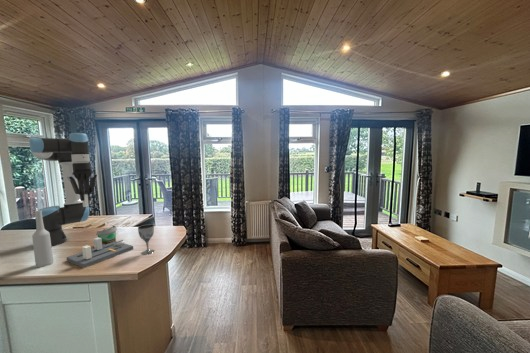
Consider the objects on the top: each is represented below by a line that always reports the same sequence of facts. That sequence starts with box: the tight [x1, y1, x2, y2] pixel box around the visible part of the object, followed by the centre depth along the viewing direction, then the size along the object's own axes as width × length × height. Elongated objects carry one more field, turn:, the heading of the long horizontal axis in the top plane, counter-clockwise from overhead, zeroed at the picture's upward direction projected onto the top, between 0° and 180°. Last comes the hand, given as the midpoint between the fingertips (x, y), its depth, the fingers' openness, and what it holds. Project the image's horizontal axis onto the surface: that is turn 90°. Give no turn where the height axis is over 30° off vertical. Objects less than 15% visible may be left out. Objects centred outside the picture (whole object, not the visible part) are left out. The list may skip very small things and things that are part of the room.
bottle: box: [31, 210, 54, 268], centre depth 118 cm, size 7×7×28 cm
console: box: [66, 239, 134, 269], centre depth 129 cm, size 18×25×4 cm
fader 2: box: [93, 236, 103, 250], centre depth 131 cm, size 4×2×6 cm, turn 61°
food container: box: [96, 225, 118, 246], centre depth 145 cm, size 12×6×10 cm, turn 168°
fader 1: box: [81, 244, 92, 259], centre depth 119 cm, size 4×2×6 cm, turn 61°
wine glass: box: [137, 223, 156, 256], centre depth 130 cm, size 8×8×15 cm
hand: (85, 206), depth 125 cm, fingers closed
